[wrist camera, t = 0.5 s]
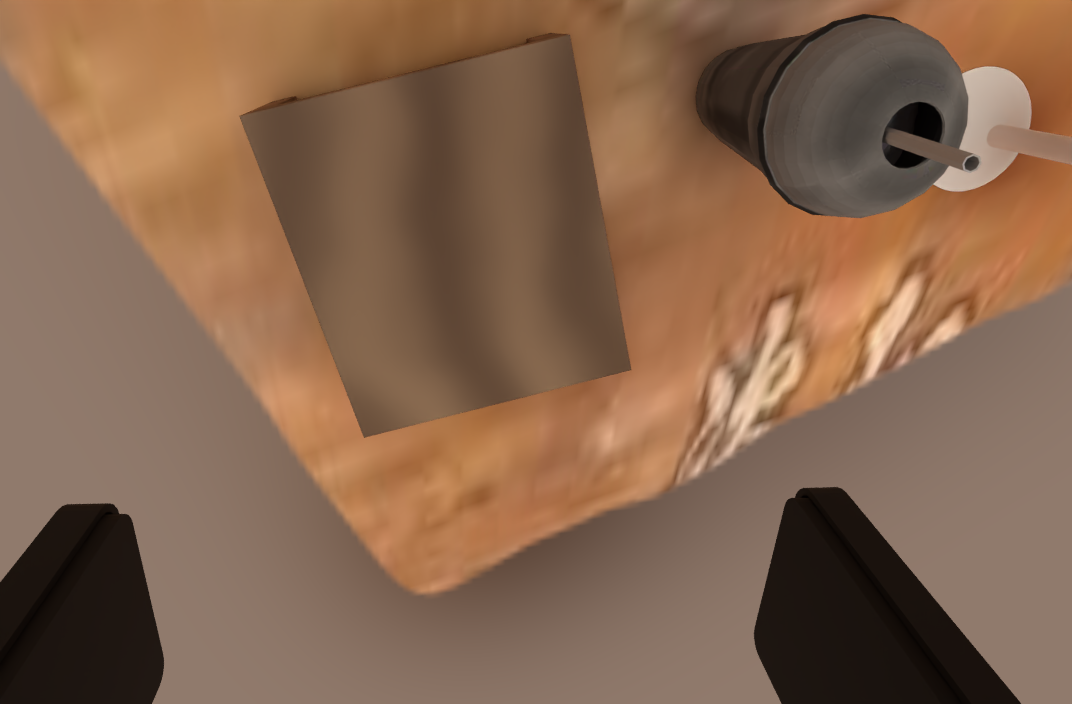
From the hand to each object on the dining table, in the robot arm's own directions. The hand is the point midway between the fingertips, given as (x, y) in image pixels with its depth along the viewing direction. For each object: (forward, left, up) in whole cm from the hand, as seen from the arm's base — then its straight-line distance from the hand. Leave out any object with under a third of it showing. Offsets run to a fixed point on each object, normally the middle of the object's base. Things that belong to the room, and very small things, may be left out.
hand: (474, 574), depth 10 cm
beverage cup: (-15, -1, -30) cm, 34 cm away
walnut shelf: (+1, +2, -30) cm, 30 cm away
